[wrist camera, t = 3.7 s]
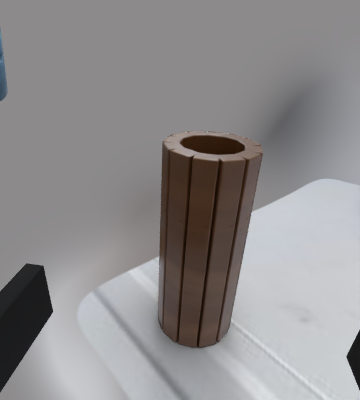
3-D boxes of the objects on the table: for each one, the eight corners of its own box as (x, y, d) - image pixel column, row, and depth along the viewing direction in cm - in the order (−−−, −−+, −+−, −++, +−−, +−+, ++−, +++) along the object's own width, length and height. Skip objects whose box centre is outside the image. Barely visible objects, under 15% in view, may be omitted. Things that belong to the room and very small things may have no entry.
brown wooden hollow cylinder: (143, 315, 23) (142, 140, 16) (190, 279, 27) (204, 126, 20) (198, 363, 20) (224, 169, 13) (243, 315, 23) (280, 146, 17)
